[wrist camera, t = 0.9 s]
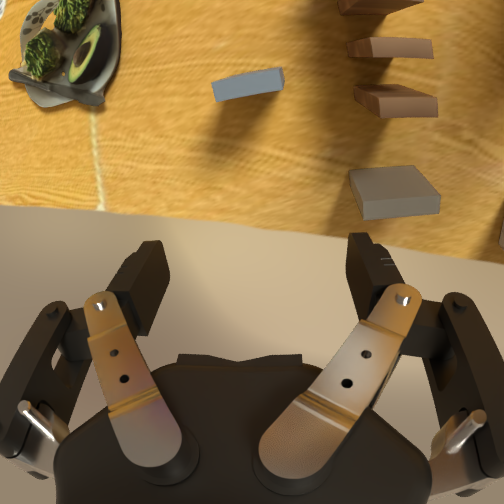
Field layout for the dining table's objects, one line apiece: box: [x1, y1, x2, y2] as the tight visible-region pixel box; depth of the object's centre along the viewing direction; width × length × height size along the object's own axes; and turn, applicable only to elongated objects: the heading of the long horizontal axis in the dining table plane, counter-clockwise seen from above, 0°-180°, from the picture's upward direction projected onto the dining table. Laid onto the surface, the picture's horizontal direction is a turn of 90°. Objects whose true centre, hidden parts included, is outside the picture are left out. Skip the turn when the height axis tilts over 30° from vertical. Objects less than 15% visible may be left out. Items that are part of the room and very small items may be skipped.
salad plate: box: [9, 0, 122, 107], centre depth 24 cm, size 19×18×5 cm
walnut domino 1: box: [338, 0, 424, 15], centre depth 18 cm, size 2×5×10 cm, turn 102°
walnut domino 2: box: [346, 37, 434, 59], centre depth 20 cm, size 2×5×10 cm, turn 102°
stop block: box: [349, 165, 441, 221], centre depth 29 cm, size 2×8×8 cm, turn 102°
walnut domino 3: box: [353, 84, 438, 118], centre depth 23 cm, size 2×5×10 cm, turn 102°
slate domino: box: [211, 67, 285, 102], centre depth 24 cm, size 2×5×10 cm, turn 102°
